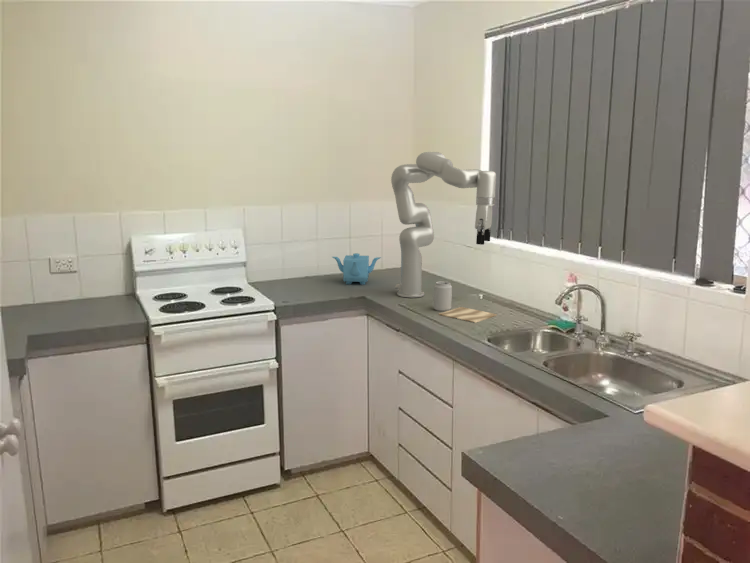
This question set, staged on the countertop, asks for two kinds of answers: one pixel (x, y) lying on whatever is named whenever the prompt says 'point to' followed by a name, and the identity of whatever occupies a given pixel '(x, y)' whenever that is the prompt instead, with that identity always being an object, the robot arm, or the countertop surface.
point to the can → (442, 296)
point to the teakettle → (356, 268)
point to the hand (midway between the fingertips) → (483, 242)
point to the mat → (468, 314)
